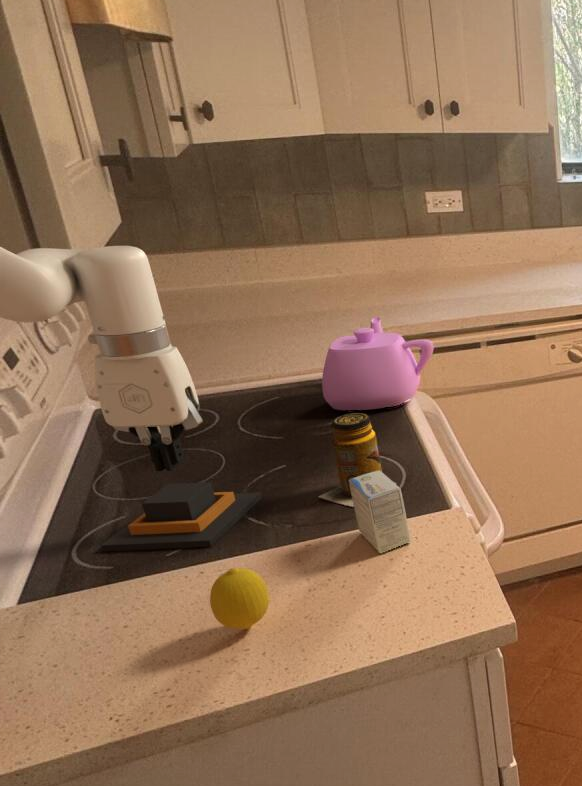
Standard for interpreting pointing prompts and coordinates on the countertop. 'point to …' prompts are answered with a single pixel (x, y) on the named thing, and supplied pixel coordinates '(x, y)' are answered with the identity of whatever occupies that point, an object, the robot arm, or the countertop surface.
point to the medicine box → (379, 511)
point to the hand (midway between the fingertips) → (170, 466)
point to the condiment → (352, 453)
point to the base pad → (184, 526)
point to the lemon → (239, 598)
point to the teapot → (372, 369)
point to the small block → (179, 502)
